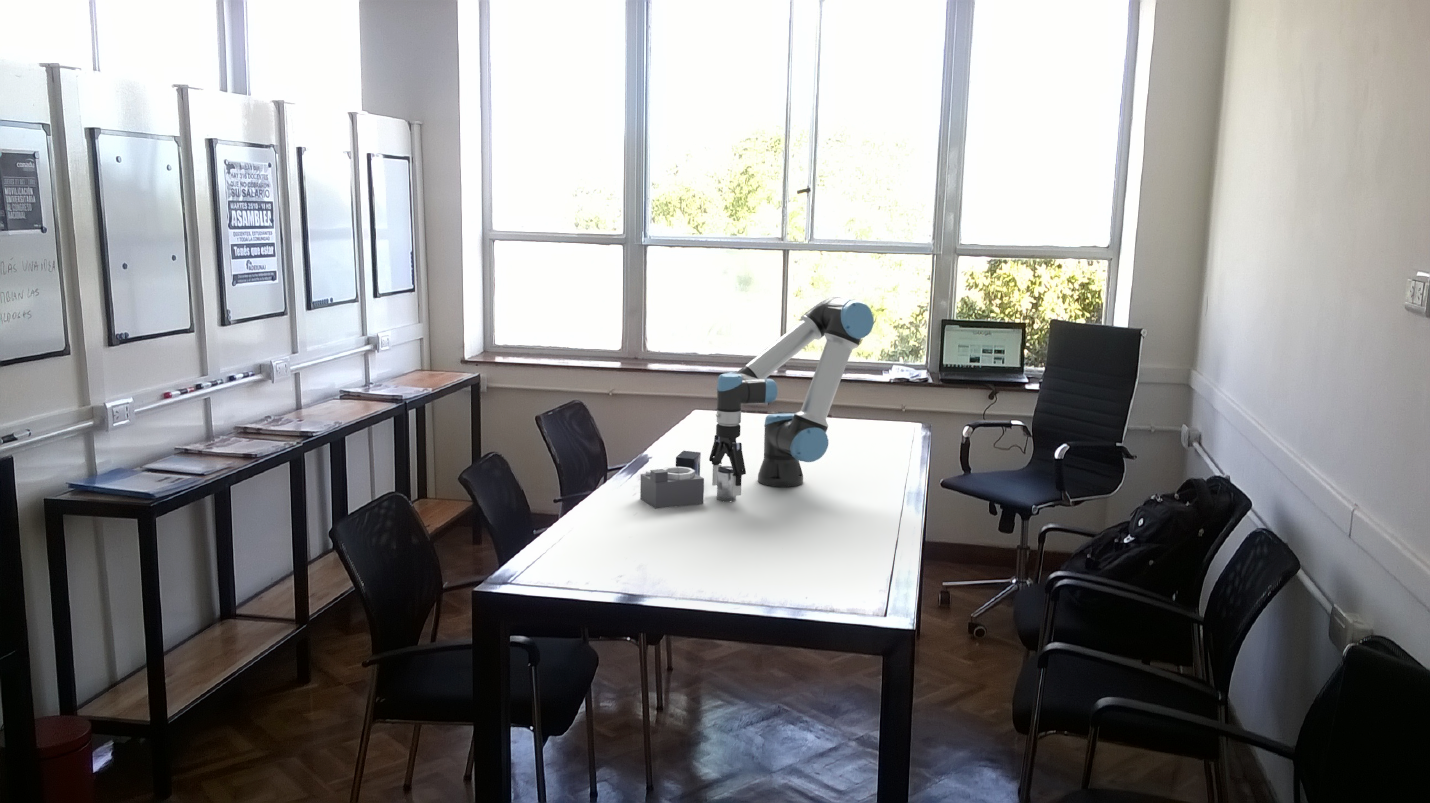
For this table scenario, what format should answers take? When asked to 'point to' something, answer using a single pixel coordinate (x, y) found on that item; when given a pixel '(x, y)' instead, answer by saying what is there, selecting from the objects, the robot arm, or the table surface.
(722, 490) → the lens
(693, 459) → the small box
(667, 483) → the camera body
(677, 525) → the table surface
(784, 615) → the table surface
